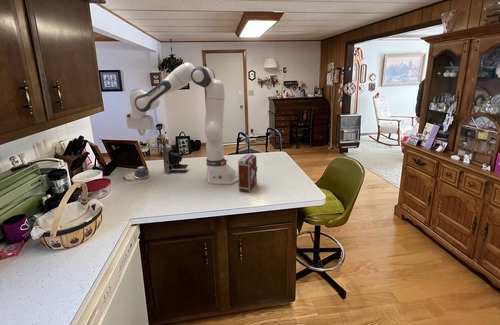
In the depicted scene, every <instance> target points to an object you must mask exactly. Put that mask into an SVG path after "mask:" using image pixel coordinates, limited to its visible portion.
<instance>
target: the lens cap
mask: <svg viewBox="0 0 500 325" xmlns="http://www.w3.org/2000/svg"><path fill="white" fill-rule="evenodd" d="M145 169H146V166H142V165H141V166H138V167H136V170H137V172H138V173H142V172H145Z"/></svg>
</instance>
